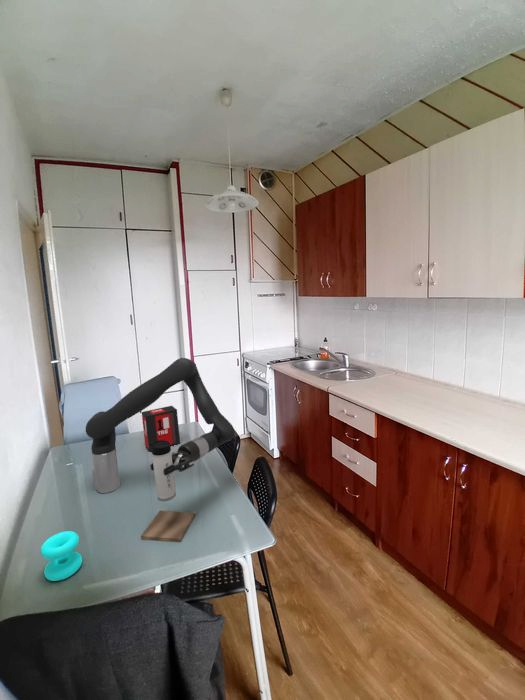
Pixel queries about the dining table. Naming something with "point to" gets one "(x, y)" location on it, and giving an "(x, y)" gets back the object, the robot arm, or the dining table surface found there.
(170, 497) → the travel mug
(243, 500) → the dining table surface
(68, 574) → the cyan spool
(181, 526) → the walnut board
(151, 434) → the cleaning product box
